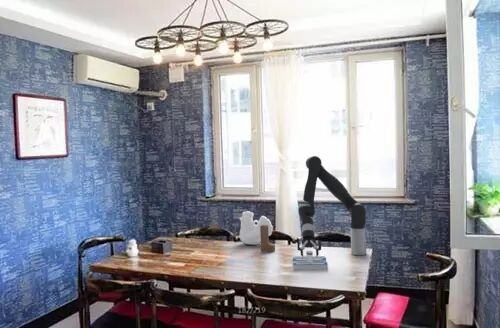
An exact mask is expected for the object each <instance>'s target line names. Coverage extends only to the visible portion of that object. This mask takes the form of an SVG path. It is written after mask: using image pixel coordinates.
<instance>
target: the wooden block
mask: <svg viewBox="0 0 500 328" xmlns="http://www.w3.org/2000/svg"><path fill="white" fill-rule="evenodd" d="M260 235H261V242H260V252H263V251H264V252H266V253H274V252H275V251H276V245H275V243H272V242H270V240H269V239H270V238H269V237H270V236H269V234H268V225H261V226H260Z"/></svg>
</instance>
